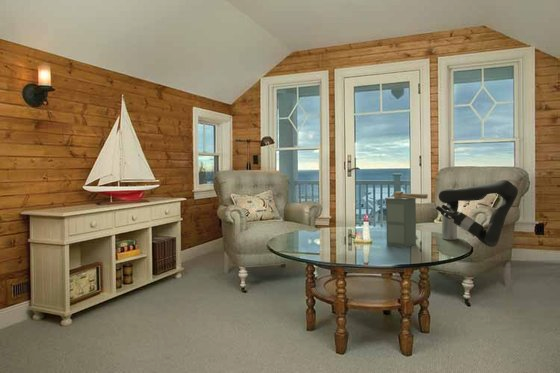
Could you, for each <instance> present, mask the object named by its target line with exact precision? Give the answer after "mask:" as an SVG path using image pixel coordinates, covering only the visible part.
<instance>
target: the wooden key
mask: <svg viewBox="0 0 560 373" xmlns="http://www.w3.org/2000/svg"><path fill="white" fill-rule="evenodd" d="M428 196H429V195H428V194H426V193H404V191H394V192H393V197H394V198H417V199H418V200H419V199H421V200H425V199H426V200H427V199H429V198H428Z"/></svg>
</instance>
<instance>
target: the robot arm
mask: <svg viewBox="0 0 560 373" xmlns="http://www.w3.org/2000/svg"><path fill="white" fill-rule="evenodd" d="M491 194H497V195H498V196H499V197H501V198H502V201H501V205H500V206H499V207H498V208H497V209H495V210H494V211H493V212H492V214H491V216H490V219H489V223H488V227H487V229H485V227H484V226H483V225H482V224H480V223H478V222H477V221H476V220H474V219H473V218H471V217H470V216H468V215H466V214H465V213H463V212H461V211H458V210H459V202H460V201H462V202H466V201H467V202H470V201H472V202H474V201H481V200H483V199H485V198H486V197H487V196H488V195H491ZM518 194H519V190H518V188H517V187H516V185H515V184H513V183H512V182H511V181H509V180H506V179H502V180H498V181H494V182H489V183H483V184H477V185H476V184H475V185H470V186H465V187H461V188H457V189H456V188H446V189H442V190H440V192H439V193H438V199H439V201H440V202H441V203H443V204H442V205H441V206H440V205H438V206H436V208H435V210H437V211H438V212H440V214H441V238H442V240H450V241H454V240H455V241H456V240H457V239H458V227H459V228H461V229H462V230H463V231H466V232H468V233H469V234H471V235H473V236H475V238H477V240H478V241H479V242H481V243H483V245H485V246H487V247H489V248H490V247H491V248H494V247H496V246H497V245H498V243H499V241H500V239H501V238H500V236H501V233H502V231H503V230H502V229H503V228H504V224H505V220H506V219H507V218H506V217H507V215H508V214H509V211H510V209H511V207H512V206H513V204H514V202H515V200H516V198H517V196H518Z"/></svg>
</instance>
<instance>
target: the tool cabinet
mask: <svg viewBox="0 0 560 373" xmlns="http://www.w3.org/2000/svg"><path fill="white" fill-rule="evenodd" d="M417 199H418V198H394V196H388V197H385V198H384V200H385V203H386V206H385V209H386V210H385V211H386V214H385V215H386V218H385V219H386V246H389V247H398V248H405V249H407V248H409V247H412V246H414V245H417V239H416V236H417V227H416V226H417V224H416V223H417V214H416V213H417V210H416V208H417V206H416V204H417V202H416V200H417Z"/></svg>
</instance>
